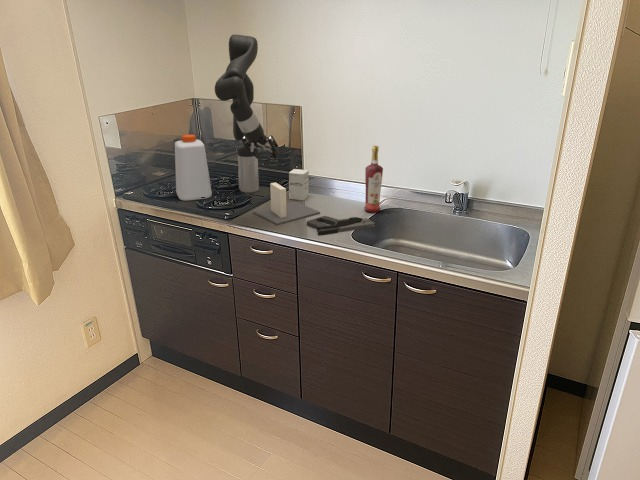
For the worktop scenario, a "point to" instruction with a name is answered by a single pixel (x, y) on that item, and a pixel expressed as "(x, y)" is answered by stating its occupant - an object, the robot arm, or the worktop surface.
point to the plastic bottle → (191, 169)
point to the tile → (278, 199)
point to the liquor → (373, 182)
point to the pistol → (338, 224)
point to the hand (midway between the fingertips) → (267, 157)
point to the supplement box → (298, 184)
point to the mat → (293, 213)
